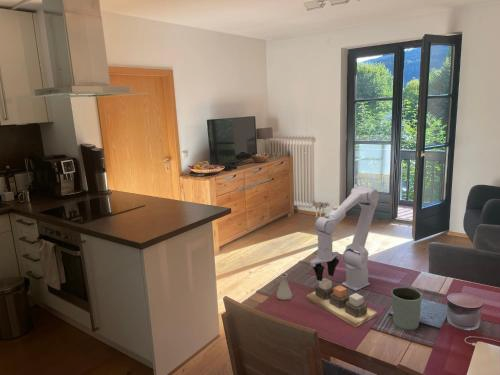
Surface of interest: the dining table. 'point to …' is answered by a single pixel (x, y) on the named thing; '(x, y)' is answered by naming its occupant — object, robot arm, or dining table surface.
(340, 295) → the terracotta button
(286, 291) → the flask
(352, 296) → the grey button
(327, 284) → the offwhite button
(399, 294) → the green cylindrical pot
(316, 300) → the button panel
